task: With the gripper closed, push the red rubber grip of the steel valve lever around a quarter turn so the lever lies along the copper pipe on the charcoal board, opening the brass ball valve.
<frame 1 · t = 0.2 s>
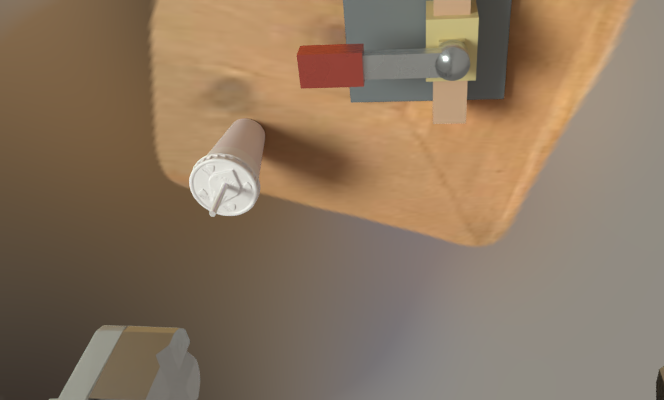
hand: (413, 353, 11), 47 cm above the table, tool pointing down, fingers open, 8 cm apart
smoothie: (247, 133, 65), on the table
lever: (383, 63, 50), point 8 cm above the table, hinge at 0.0°
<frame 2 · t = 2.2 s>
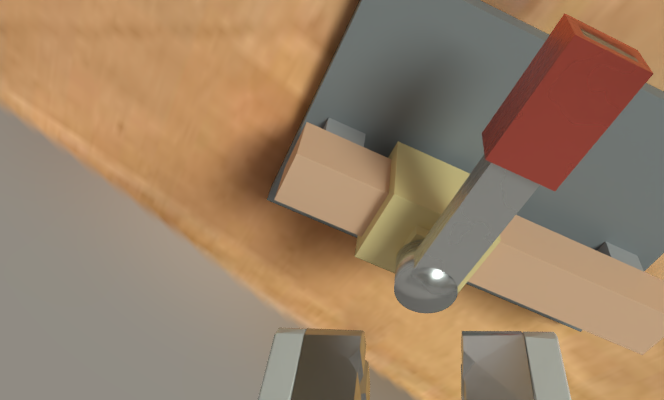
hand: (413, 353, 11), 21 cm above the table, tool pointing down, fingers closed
lever: (493, 189, 24), point 8 cm above the table, hinge at 0.0°
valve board: (496, 164, 33), on the table
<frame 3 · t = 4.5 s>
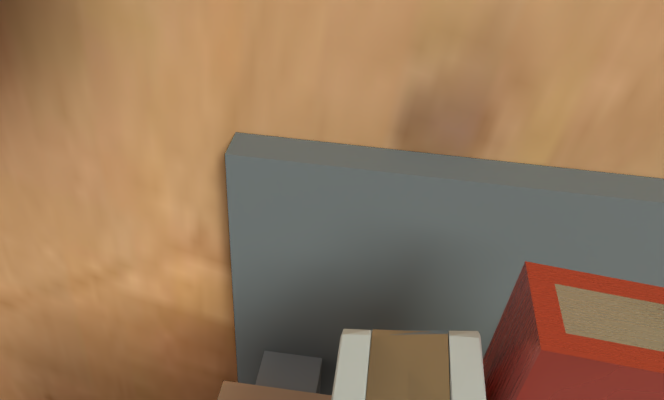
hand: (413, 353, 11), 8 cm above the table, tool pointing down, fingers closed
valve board: (531, 342, 22), on the table
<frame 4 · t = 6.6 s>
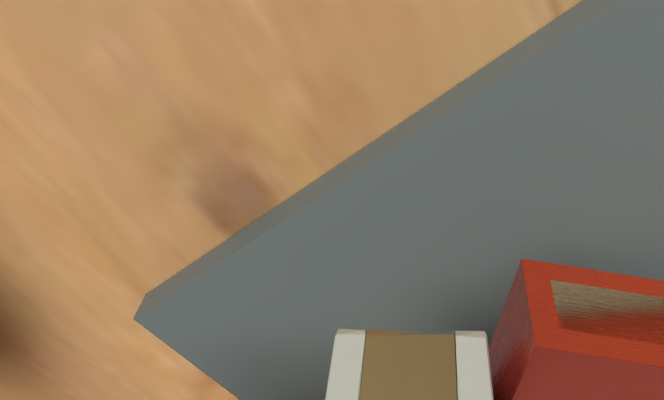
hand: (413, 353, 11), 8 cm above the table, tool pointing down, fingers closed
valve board: (490, 298, 21), on the table
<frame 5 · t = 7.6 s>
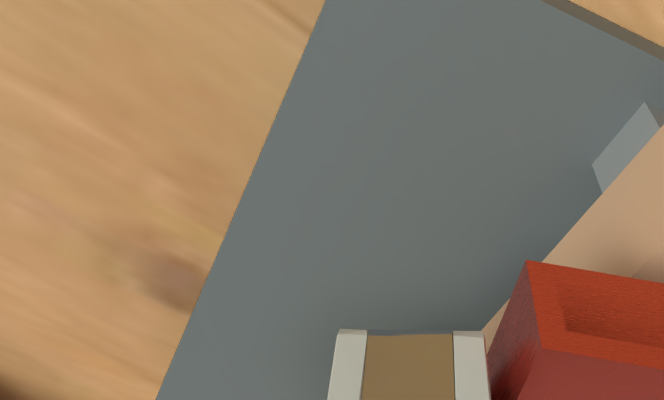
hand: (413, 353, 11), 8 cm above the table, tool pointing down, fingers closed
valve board: (432, 292, 21), on the table
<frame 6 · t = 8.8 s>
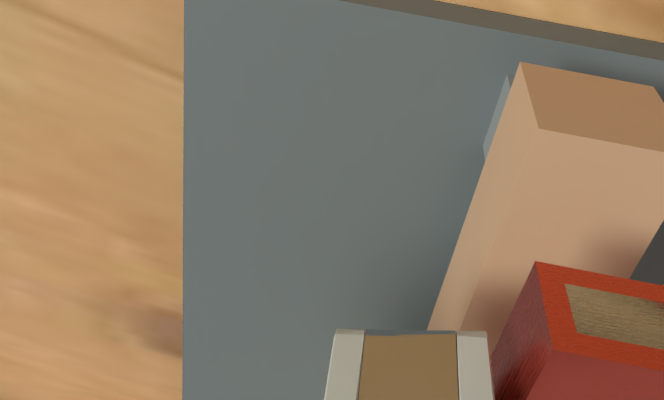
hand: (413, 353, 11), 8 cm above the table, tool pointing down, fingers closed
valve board: (397, 297, 21), on the table
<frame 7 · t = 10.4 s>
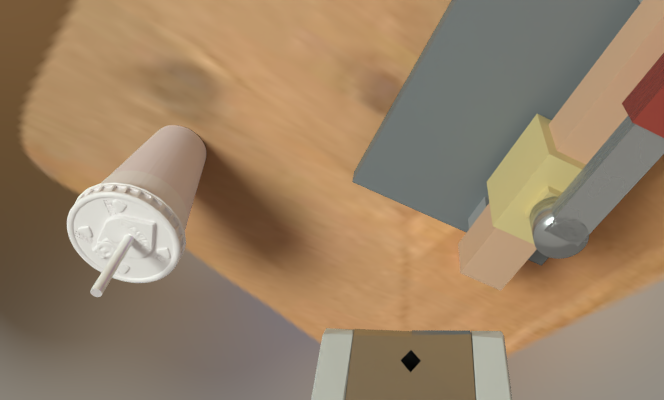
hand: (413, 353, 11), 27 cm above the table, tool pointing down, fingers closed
smoothie: (180, 148, 42), on the table
lever: (628, 150, 29), point 8 cm above the table, hinge at 90.3°
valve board: (536, 92, 37), on the table
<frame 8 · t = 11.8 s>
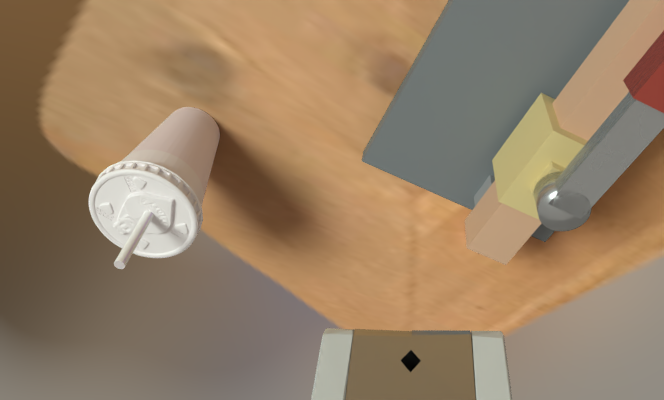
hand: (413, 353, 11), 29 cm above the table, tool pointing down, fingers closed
smoothie: (194, 129, 44), on the table
lever: (629, 125, 30), point 8 cm above the table, hinge at 90.3°
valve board: (540, 72, 38), on the table
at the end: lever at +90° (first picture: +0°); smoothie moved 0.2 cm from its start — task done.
